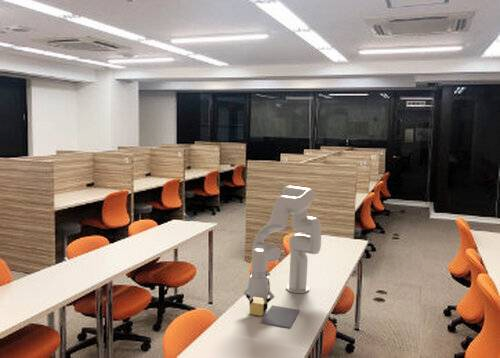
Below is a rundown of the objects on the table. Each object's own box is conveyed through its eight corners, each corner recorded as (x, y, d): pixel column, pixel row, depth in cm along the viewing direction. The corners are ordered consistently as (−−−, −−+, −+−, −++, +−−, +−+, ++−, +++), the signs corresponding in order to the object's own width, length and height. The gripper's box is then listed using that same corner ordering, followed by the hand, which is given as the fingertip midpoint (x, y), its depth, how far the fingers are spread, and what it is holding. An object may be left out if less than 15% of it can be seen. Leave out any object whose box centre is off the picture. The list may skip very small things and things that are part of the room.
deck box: (255, 306, 226) (255, 297, 225) (266, 308, 224) (267, 299, 223) (249, 313, 217) (249, 304, 216) (261, 315, 215) (261, 306, 215)
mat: (272, 306, 228) (272, 305, 228) (299, 310, 224) (299, 309, 224) (260, 323, 209) (260, 321, 209) (290, 328, 205) (290, 327, 205)
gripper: (278, 273, 218) (277, 309, 221) (244, 269, 224) (244, 303, 226) (274, 279, 211) (273, 315, 214) (239, 274, 217) (239, 309, 219)
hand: (258, 309), depth 220 cm, fingers closed on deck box, 6 cm apart
